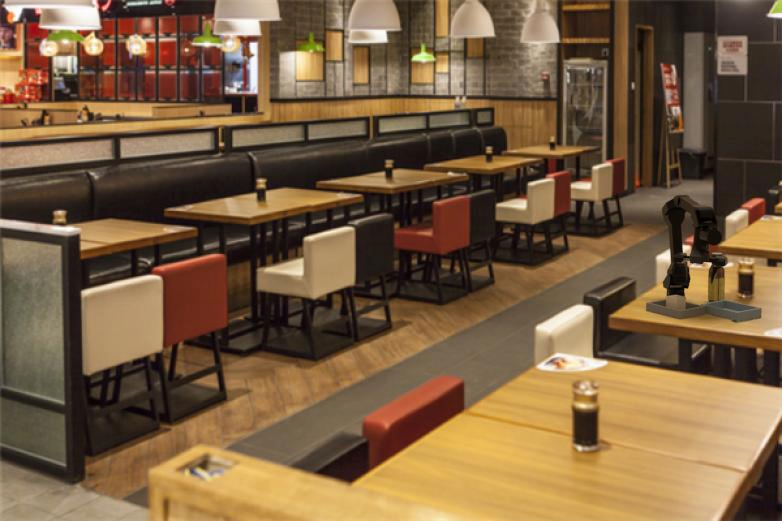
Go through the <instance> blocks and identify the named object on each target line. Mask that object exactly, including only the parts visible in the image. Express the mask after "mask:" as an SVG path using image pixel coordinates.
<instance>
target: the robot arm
mask: <svg viewBox="0 0 782 521" xmlns="http://www.w3.org/2000/svg"><path fill="white" fill-rule="evenodd" d="M661 213H662V214H661V215H662V217H663V221H664V222H665V224H666V225H667V226H668V238H669V239H668V240H669V254H670V256H669V257H670V264H669V266H668V268H667V269H666V275H665V278H664V279H663V281H662V287H663V288H664V289H666V296H671V295H679V296H683V297H686V293H685V290H689V288H690V287H689V286H690V284H691V283H690V282H691V280H692V279H691V274H690V267H689V265H688V262H689V263H690V264H698V265H703V264H704V263H709V264H712V263H714V264H715V265H714V266H713V272H712V277H711V284H712V283H713V281H714V279H715V276H716V274H717V272H718V270H719V268H722V267H723V268H724V267H726V266H727V265H728V262H729V260H728V259H729V258H728V257H727V256H723V255H722V256H716V257H715V258H712V257H711V251H710V246H713V247H714V246H715V247H716V246H718V245H719V244H720V243H721V241H722V240H723V235H722V232H721V231H720V230H718V226H719V224H718V223H719V221H718V218H717V215H716V211H715V210H714V208H713V207H712V206H710V205H703V204H700V203H698V202H697V201H695V200H694V199H693V198H691V197H690V195H688V194H677V195H675V196H674V197H673V198H672V199H669V200H668V201H666V202H665V204H664V205H663V206H662V208H661ZM687 213H688V214H690V219H691V220H692V222H693V223H692V227H693V237H692V238H693V239H692V240H693V242H692V248H691V250H690V253H689V255H688V254H687V252H684V247H683V246H684V245H683V231H682V225H683V223H684V221H685V218H686V214H687ZM666 296H665V297H666Z"/></svg>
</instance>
